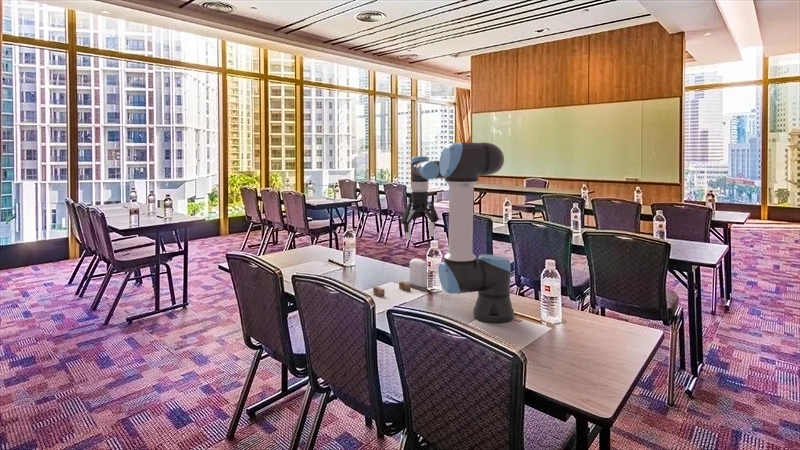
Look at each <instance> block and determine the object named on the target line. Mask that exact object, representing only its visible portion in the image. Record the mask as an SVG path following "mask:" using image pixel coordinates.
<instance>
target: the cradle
mask: <svg viewBox="0 0 800 450" xmlns="http://www.w3.org/2000/svg"><path fill="white" fill-rule="evenodd" d="M406 282H407V281H399V282H398V285H399V286H398V288H401V289H400V290H402V289H403V290H402V291H405V290H406V291H405V292H410V291H409V290H411V288H412V287H411V284H409V283H406ZM372 293H375V294H377V295H379V296H378V297H380V296H383V297H385V288H382V287H380V286H377V285H376V286H373V287H372ZM375 294H374V295H375ZM377 295H376V296H377Z"/></svg>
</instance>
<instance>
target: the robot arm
mask: <svg viewBox="0 0 800 450" xmlns="http://www.w3.org/2000/svg"><path fill="white" fill-rule="evenodd" d="M439 157H440V158H439V160H429V158H428V156H422V155H420V156H419V155H418V156H412V157H411V161H410V169H411V171H410V174H411V177H410V178H411V181H410V182H411V185H410V186H411V201H412V202H406V203H405V208H404V211H403V214H402V216H401V219H400V224H401V225H403V226H404V227H403V228H404V229H403V230H404V232H405V240H408V241H410V240H411V239H412V238H411V234H412V233H411V232H412V231H411V230H412V229H411V224H410V223H411V222H412V221H413V218H415V215H416V214H418V213H421V212H423V213H424V214H425V215H426V217H427V218H428V220H429V222H428V228H429V229H428V232H429V233H428V236H429V237H435V229H436V223H437V221H439V220H440V218H439V216H438V214H437V211H436V209H435V205H434V201H433V200H429V192H428V191H429V180H433V179H434V180H435V179H445V180H444V181H445V183H446V184H447V185H448V187H449V188H448V190H449V191H448V192H449V193H448V196H449V197H448V198H449V199H448V201H449V202H448V251H447V253H446V254H444V256H443V257H444V258H443V261H441V262H440V263H439V264H438V270H437V273H438V279H439V282H440V285H441V287H442V290H444V292H446V293H447V294H451V295H453V294H456V295H459V294H466V293H476V292H478V293H477V299H476V300H475V305H474V307H473V311H472V313H473V314H472V316H473V318H474V319H476V320H478V321H481V322H484V323H490V322H491V324H492V323H493V324H501V323H509V322H511V321H513V320H514V319H515V310H514V308H513V305H512V300H511V296H510V295H511V294H510V293H511V271H512V270H511V262H510V260H509V259H508V258H506V257H505V256H501V255H494V254H485V253H484V254H483V253H481V254H479V255H478V258H477V255H475V254H474V253H473V244H474V243H473V238H474V235H473V233H474V232H473V231H474V199H475V198H474V191H475V190H474V187H475V186H476V185H477V184H478V182H479V177H480V176H481V177H482V176H490V175H494V174H497V173H498V172H500V171H501V170H502V169H503V166H504V164H505V156H504V152H503V151H502V150H501V148H500V147H499V146H497V145H495V144H493V143H490V142H460V141H458V142H452V143H451V142H450V143H447V144H446V145H445V146H444V147H443V149H442V151H441V152H440V156H439Z"/></svg>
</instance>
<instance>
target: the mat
mask: <svg viewBox="0 0 800 450" xmlns="http://www.w3.org/2000/svg"><path fill="white" fill-rule="evenodd" d="M405 282H406V283H409V284H410V281H405ZM411 286H412V287H411V288H413V287H414V289H416V288H417V290H419V291H421V292H428V291H427V290H428V289H427V287H424V288H423V287H419V286H416V285H413V284H411Z"/></svg>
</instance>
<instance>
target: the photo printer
mask: <svg viewBox="0 0 800 450" xmlns="http://www.w3.org/2000/svg"><path fill="white" fill-rule="evenodd" d="M427 264H428V262H426V261H425V260H424V259H421V258H413V259H411V260H410V261H409V282H410V284H413V285H416V286H419V287H423V288H424V287H427Z"/></svg>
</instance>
